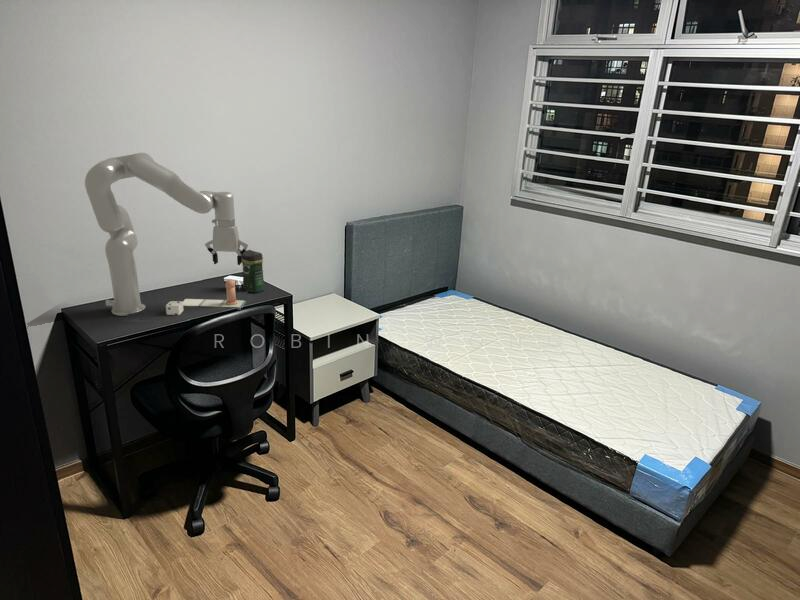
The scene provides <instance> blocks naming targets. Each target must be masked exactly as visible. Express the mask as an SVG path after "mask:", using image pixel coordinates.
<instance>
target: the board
mask: <svg viewBox="0 0 800 600" xmlns="http://www.w3.org/2000/svg"><path fill="white" fill-rule="evenodd" d="M236 300H237V301H238V303H237V304H236V305H226V301H227V299H203V298H197V299H196V298H184V300H183V307H185V306H186V307H199V306H200V307H216V308H217V307H220V308H221V307H222V308H225V307H227V308H229V307H230V308H235V309H234V310H236V309H237V311H238V310H240V311H241V310H242V309H243V307H244V306H245V304H246V303H247V301H246V300H240V299H239V300H238V299H236ZM241 308H242V309H241Z"/></svg>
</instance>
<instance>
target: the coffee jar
mask: <svg viewBox="0 0 800 600" xmlns="http://www.w3.org/2000/svg"><path fill="white" fill-rule="evenodd" d="M263 260H264V257H263V253H261V252H259V251H255V250H251V249H246V251H245V252H244V253H243V254H242V263H241V264H242V289H244V290H246V291H248V292H249V293H251V294H252V293H261V292H263V291H264V290H265V279H264V270H263V262H264V261H263Z"/></svg>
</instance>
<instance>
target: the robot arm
mask: <svg viewBox="0 0 800 600" xmlns="http://www.w3.org/2000/svg"><path fill="white" fill-rule="evenodd" d="M134 177H136V178H137V179H138V180H141V181H142V182H145V183H146V184H149V185H151V186H152V187H154V188H156V189H158V190H159V191H161V192H163V193H165V194H166V195H167V196H169V197H170V198H171V199H173V200H175V201H176V202H178V203H179V204H180V205H182V206H184V207H186V208H188V209H190V210H192V211H194V212H195V213H198V214H203V215H204V214H208V213H209V212H211V210H214V219H212V220H211V223H212V224H214V226H213V228H212V239H211V240H209V241H207V242H206V243H204V246H205V247H206V248H207V251H209V253H210V254H211V256H212V262H213V264H214V265H216V264H218V262H219V261H218V260H219V257H218V253H217V252H225V253H227V252H228V253H229V252H230V253H231V252H232V253H234V252H235V253H236V254H237V256H236V257H237V259H236V261H237V262H236V263H237V265H238V266H240V265H241V264H242V254H243V253H244V252H245V251H246V250H248V247H249V244H247V243H245V242H244V241H242V240H240V236H239V230H238V226H237V225H236V221H235V220H236V219H235V218H236V217H235V200H234V195H233V193H232V192H229V191H217V192H216V191H209V190H200V191H198V190H196V189H194V188H193V187H191V186H190V185H187V183H185V182H184V181H183V179H181V178H180V176H179V175H177V173H175V172H174V171H172V170H170V169H169V168H167V167H164V166H163V165H162V164H159V163H157V162H156V161H155V160H154V159H153V157H152V156H151V155H150V154H148V153H145V152H137V153H132V154H128V155H127V154H126V155H121V156H116V157H110V158H106V159H104V160H102V161H100V162H98V163H95V165H93V166H92V167H91V168H89V170H88V171H87V173H86V175H85V180H84V186H85V191H86V194H87V196H88V199H89V201H90V202H89V203H90V204H91V208H92V210H93V213H94V216H95V218H96V221H97V224H98V226H99V228H100V229H101V230H102V231H103V232H105V233H109V239H108V240H107V242H106V243H105V248H104V249H105V250H104V251H105V256H106V257H105V258H106V259H107V263H108V268H109V275H110V281H111V287H112V288H111V289H112V292H113V293H112V295H113V300H110V299H106V300H105V306H106V307H111V313H112V314H113V315H115V316H118V317H119V316H120V317H124V316H125V317H126V316H128V315H129V314H130V315H131V314H135V313H140V312H141V311H143V310H145V309H146V305H145V304H143V303H142V301H141V294H140V288H139V281H138V280H139V279H138V272H137V265H136V260H135V256H134V251H135V250H136V248H137V246H138V239H137V237H138V236H137V234H136V231H135V229H134V225H133V222H132V221H131V220H132V219H131V217H130V215H129V213H128V211H127V209H126V208H125V207H124V206H122V205H120V204H118V203H117V201H116V200H117V199H116V197H115V195H114V193H113V191H112V189H111V186H112V185H113V184H114V183H116V182H118V181H119V180H123V179H129V178H134ZM211 245H212V247H211ZM241 246H242V247H243V248H242V249H241Z"/></svg>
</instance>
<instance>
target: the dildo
mask: <svg viewBox="0 0 800 600" xmlns="http://www.w3.org/2000/svg"><path fill="white" fill-rule="evenodd" d="M224 285H225V289H226V291H225V292H226V300H227V301H226V305H236V304H237V303H238V301H237V300H238V299H237V297H236V282H235V280H233V279H227V280H226V281H225V284H224Z"/></svg>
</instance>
